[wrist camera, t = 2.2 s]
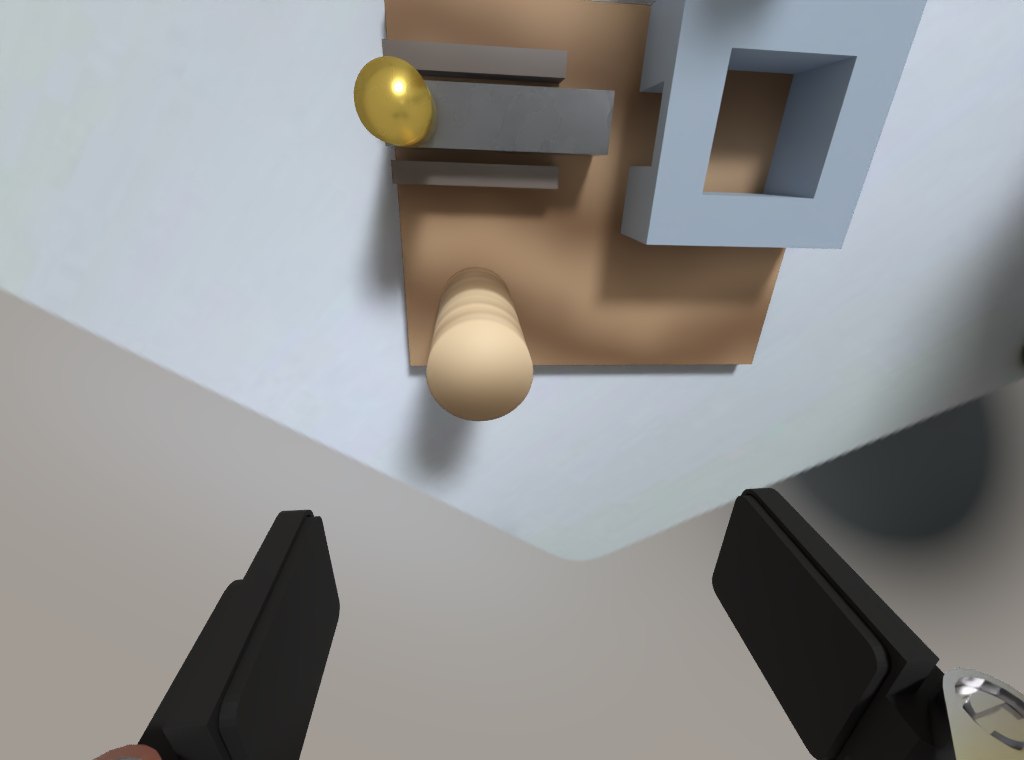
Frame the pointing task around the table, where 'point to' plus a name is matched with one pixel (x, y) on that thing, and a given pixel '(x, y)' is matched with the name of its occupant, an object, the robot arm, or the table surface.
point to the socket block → (805, 124)
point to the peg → (478, 349)
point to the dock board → (577, 193)
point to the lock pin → (479, 114)
